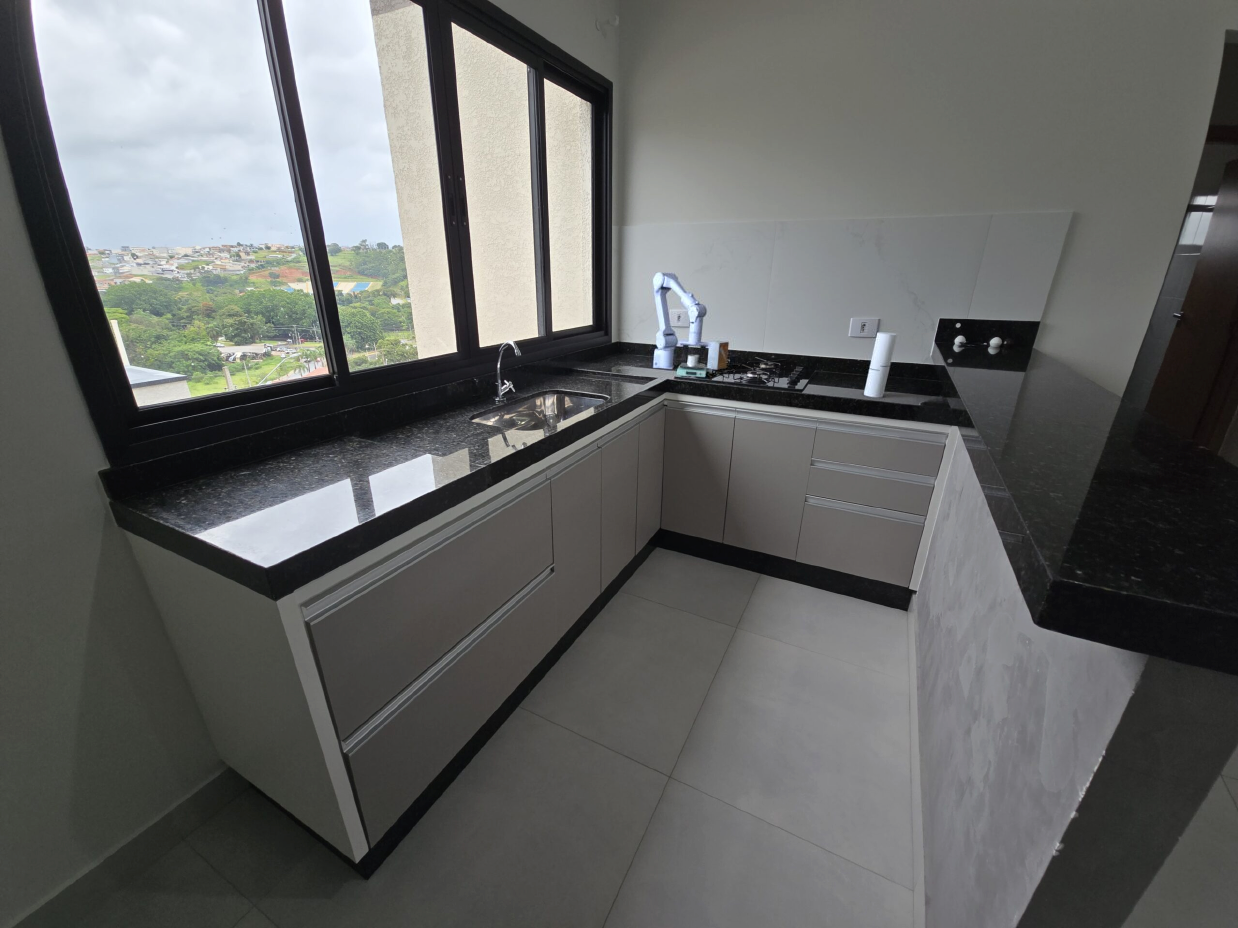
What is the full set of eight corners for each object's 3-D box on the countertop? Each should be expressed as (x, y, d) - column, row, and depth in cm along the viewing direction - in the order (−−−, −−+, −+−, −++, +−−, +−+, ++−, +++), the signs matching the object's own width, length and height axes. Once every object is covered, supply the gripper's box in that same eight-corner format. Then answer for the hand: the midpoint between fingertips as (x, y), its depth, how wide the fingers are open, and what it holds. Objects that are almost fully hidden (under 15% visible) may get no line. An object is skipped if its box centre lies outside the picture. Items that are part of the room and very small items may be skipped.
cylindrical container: (884, 398, 205) (899, 335, 196) (866, 396, 206) (880, 333, 197) (880, 394, 211) (894, 333, 202) (862, 392, 213) (875, 331, 204)
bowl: (686, 365, 234) (687, 356, 232) (687, 363, 239) (688, 354, 237) (697, 366, 233) (698, 356, 231) (698, 364, 238) (699, 355, 236)
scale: (676, 375, 233) (677, 369, 232) (679, 370, 244) (679, 365, 243) (705, 377, 231) (705, 371, 230) (706, 372, 241) (706, 367, 240)
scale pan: (679, 368, 233) (679, 366, 233) (681, 364, 241) (681, 362, 241) (703, 369, 231) (703, 367, 231) (704, 366, 239) (705, 364, 239)
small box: (717, 370, 249) (719, 343, 244) (706, 368, 253) (708, 341, 249) (726, 368, 254) (729, 341, 250) (716, 366, 258) (718, 340, 254)
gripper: (678, 332, 228) (676, 362, 233) (711, 334, 225) (708, 364, 230) (680, 330, 235) (678, 360, 239) (711, 332, 232) (708, 362, 237)
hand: (692, 362), depth 235 cm, fingers closed on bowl, 5 cm apart
